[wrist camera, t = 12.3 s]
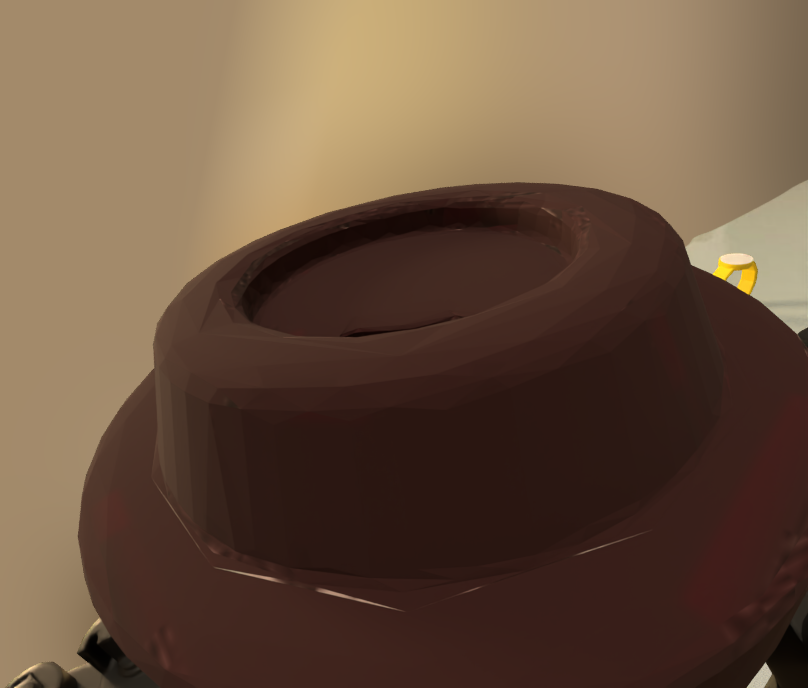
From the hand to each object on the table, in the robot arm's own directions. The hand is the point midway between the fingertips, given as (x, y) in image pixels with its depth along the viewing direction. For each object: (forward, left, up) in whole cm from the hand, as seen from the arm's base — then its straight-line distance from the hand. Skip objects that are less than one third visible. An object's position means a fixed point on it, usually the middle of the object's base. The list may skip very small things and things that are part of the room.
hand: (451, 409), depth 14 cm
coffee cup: (+2, -4, -8) cm, 9 cm away
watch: (+16, +41, -18) cm, 47 cm away
